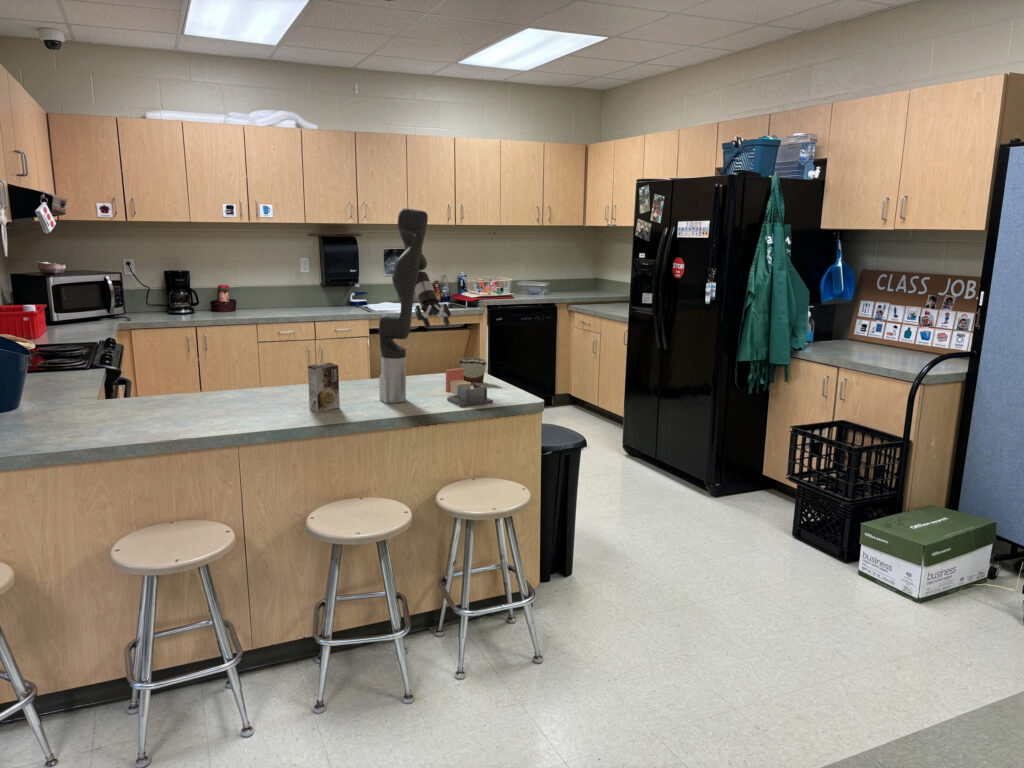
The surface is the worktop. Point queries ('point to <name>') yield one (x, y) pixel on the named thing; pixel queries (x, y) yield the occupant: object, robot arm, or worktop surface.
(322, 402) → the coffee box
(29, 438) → the worktop surface
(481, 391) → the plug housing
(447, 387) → the red plug
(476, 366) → the food container
